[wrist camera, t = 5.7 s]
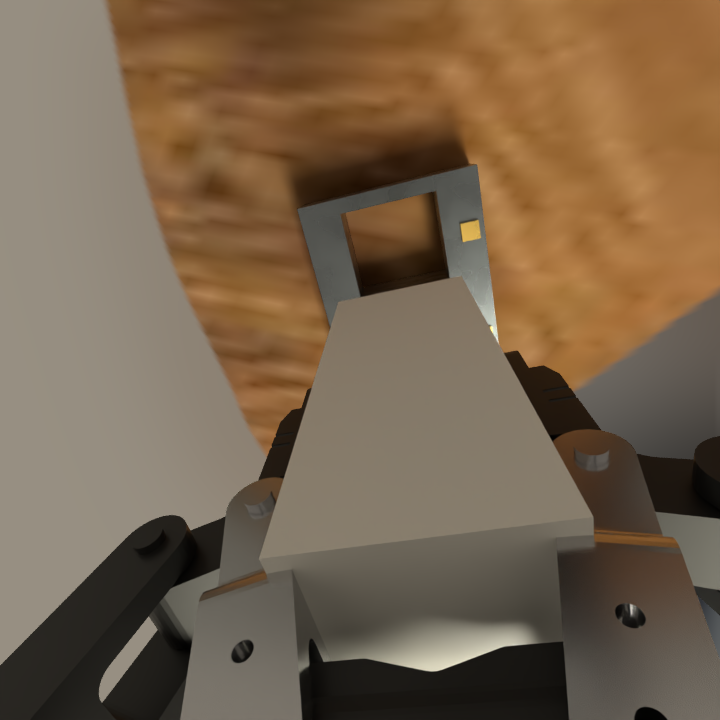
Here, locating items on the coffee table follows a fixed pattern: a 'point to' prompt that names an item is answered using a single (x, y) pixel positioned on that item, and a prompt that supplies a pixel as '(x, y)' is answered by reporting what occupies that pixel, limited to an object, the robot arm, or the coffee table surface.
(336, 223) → the panel
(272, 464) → the robot arm
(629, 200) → the coffee table surface
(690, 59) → the coffee table surface
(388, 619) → the plug
